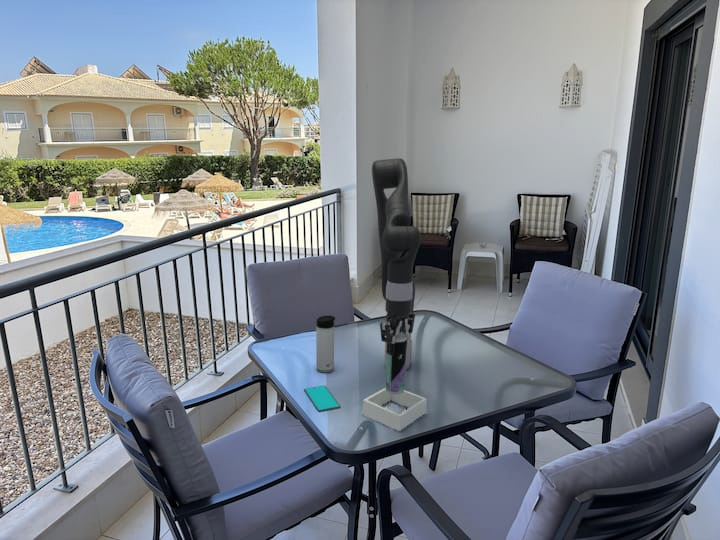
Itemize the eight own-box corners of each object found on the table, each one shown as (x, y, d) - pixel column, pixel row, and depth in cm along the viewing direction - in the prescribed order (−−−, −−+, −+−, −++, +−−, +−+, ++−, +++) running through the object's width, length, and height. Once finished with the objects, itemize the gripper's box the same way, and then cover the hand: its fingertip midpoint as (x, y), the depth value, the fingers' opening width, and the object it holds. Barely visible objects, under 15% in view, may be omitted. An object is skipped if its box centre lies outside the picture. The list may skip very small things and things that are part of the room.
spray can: (398, 396, 147) (401, 331, 142) (382, 391, 150) (384, 327, 145) (407, 388, 151) (410, 326, 146) (391, 384, 154) (393, 322, 149)
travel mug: (332, 374, 178) (332, 320, 173) (314, 372, 179) (314, 318, 174) (336, 366, 184) (337, 314, 179) (319, 364, 185) (319, 313, 180)
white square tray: (390, 398, 161) (390, 384, 160) (426, 413, 153) (426, 398, 152) (362, 415, 151) (363, 400, 150) (399, 432, 143) (399, 416, 142)
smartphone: (318, 411, 152) (303, 389, 166) (318, 413, 153) (303, 391, 166) (341, 406, 155) (325, 385, 169) (341, 409, 156) (325, 387, 169)
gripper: (403, 288, 151) (401, 341, 155) (372, 298, 140) (371, 355, 144) (424, 293, 146) (421, 347, 150) (394, 304, 135) (391, 362, 140)
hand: (396, 351), depth 147 cm, fingers closed on spray can, 5 cm apart
